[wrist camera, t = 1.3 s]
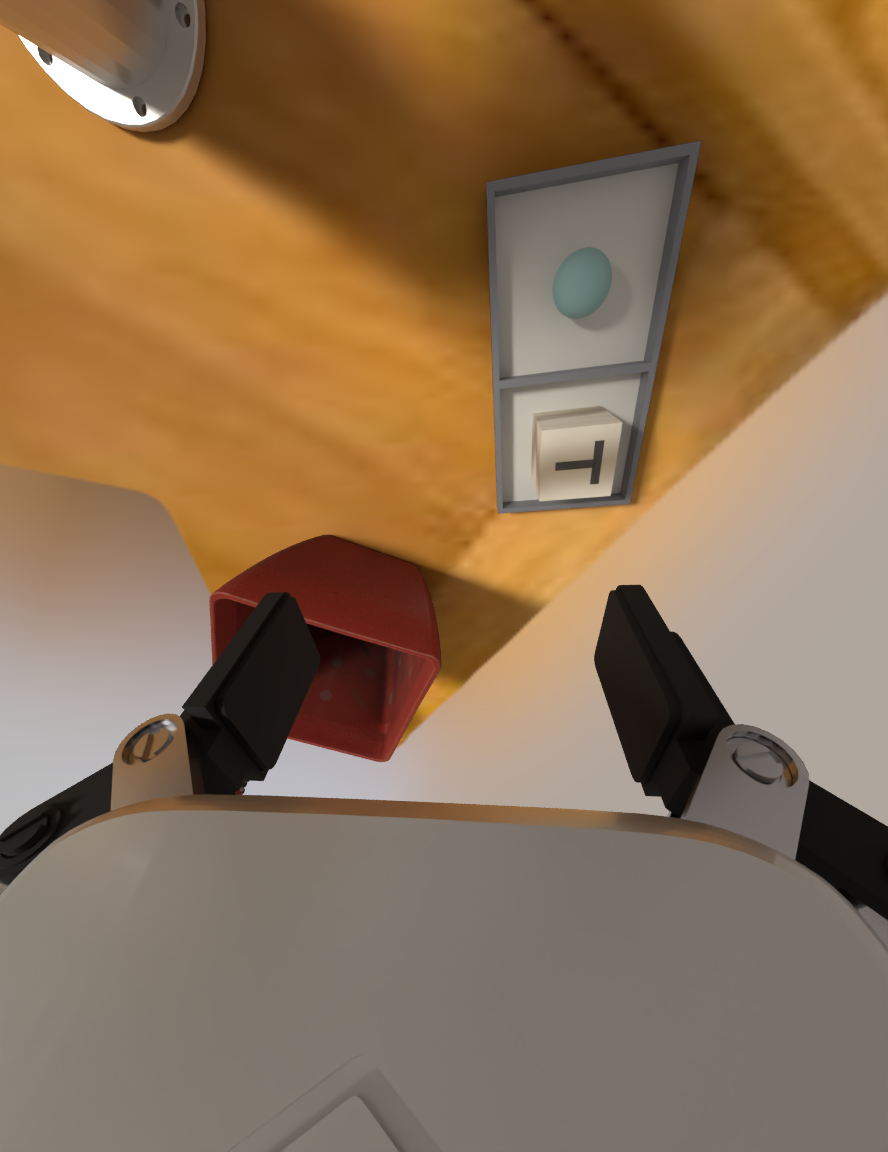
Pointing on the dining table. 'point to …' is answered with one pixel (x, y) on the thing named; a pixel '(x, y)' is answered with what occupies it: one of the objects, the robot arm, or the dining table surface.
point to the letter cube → (574, 453)
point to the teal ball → (582, 283)
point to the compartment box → (598, 341)
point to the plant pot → (346, 639)
